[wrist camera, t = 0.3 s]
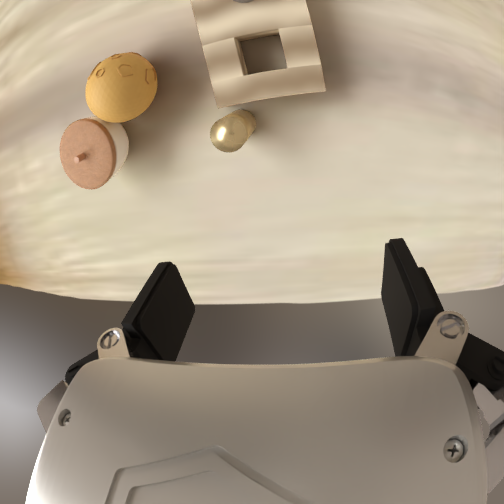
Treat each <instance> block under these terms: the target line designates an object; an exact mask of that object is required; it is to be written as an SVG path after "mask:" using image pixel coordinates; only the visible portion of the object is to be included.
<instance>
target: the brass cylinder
mask: <svg viewBox="0 0 504 504" xmlns="http://www.w3.org/2000/svg"><path fill="white" fill-rule="evenodd" d="M255 127H256V121H255V118H254V116H253V115H252V114H251V113H250V112H248V111H246V110H236V111H234V112H232V113H230V114H228V115H227V116H225V117H223V118H221V119H220V120H218V121H217V122H215V123H214V125H213V126H212V128H211V131H210V138H211V141H212V143H213V145H214V146H215V147H216V148H217V149H219V150H221V151H223V152H234V151H237V150H238V149H240V148H241V147H242V146H243V144H244V143H245V142H246V141H247V139H248V138H249V137H250V135H251V134H252V133H253V131H254V130H255Z"/></svg>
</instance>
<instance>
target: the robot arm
mask: <svg viewBox="0 0 504 504" xmlns="http://www.w3.org/2000/svg"><path fill="white" fill-rule="evenodd" d="M381 296H382V301H383V305H384V309H385V313H386V317H387V321H388V325H389V329H390V333H391V338H392V342H393V347H394V352H395V357H385V358H374V359H364V360H353V361H341V362H328V363H311V364H288V365H230V364H229V365H228V364H205V363H187V362H175V361H176V358H177V356H178V353H179V351H180V348H181V346H182V343H183V340H184V338H185V335H186V333H187V330H188V328H189V325H190V322H191V320H192V317H193V315H194V313H195V306H194V304H193V302H192V299H191V297H190V295H189V293H188V291H187V289H186V287H185V284H184V282H183V280H182V278H181V276H180V273H179V271H178V269H177V267H176V265H174V264H173V263H172V262H161V263H159V264H158V265H157V266H156V268H155V269H154V271H153V273H152V274H151V276H150V277H149V279H148V280H147V282H146V283H145V285H144V287H143V288H142V290H141V291H140V293H139V295H138V296H137V298H136V300H135V301H134V303H133V304H132V306H131V308H130V310H129V311H128V313H127V314H126V316H125V318H124V319H123V321H122V323H121V324H122V326H123V329H122V330H121V329H120V328H111V329H109V330H107V331H105V332H104V333H103V334H102V335H101V336H100V338H99V339H98V343H97V348H98V350H96V351H94V352H93V353H91V354H89V355H88V356H86V357H84V358H83V359H81V360H79V361H78V362H76V363H74V364H73V365H71V366H70V367H69V369H68V370H67V372H66V376H65V380H66V381H63V380H62V381H61V382H60V383H59V384H57V385H56V386H55V387H54V388H53V389H52V390H51V391H50V392H49V393H48V394H47V395H46V396H45V397H44V398H43V399H42V400H41V401H40V403H39V405H38V408H37V412H38V415H39V417H40V420H41V422H42V425H43V427H44V429H45V431H46V436H45V438H44V441H43V444H42V447H41V449H40V452H39V455H38V458H37V461H36V465H35V468H34V471H33V475H32V478H31V482H30V486H29V490H28V494H27V499H26V504H487V495H488V494H489V493H490V491H492V490H493V488H494V487H495V486H496V485H497V484H498V483H499V482H500V480H502V478H503V477H504V352H503V351H501V350H500V349H498V348H496V347H494V346H492V345H490V344H489V343H487V342H485V341H483V340H481V339H479V338H477V337H475V336H473V335H472V334H470V333H468V331H469V326H468V322H467V321H466V319H465V318H464V317H463V316H462V315H461V314H459V313H457V312H454V311H444V309H443V307H442V305H441V302H440V300H439V298H438V296H437V293H436V291H435V289H434V287H433V285H432V283H431V281H430V279H429V277H428V275H427V273H426V271H425V269H424V268H423V267H419V268H418V266H417V264H416V262H415V260H414V258H413V256H412V254H411V252H410V250H409V249H408V247H407V245H406V243H405V241H404V239H403V238H398V239H390V240H389V243H386V244H385V255H384V269H383V281H382V291H381ZM478 409H481V410H482V411H483V412H484V415H483V417H484V418H485V419H486V420H487V422H488V424H489V427H490V432H489V436H488V438H487V439H486V441H485V442H484V434H483V429H482V424H481V419H480V414H479V410H478ZM454 447H455V449H454Z"/></svg>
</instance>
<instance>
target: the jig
mask: <svg viewBox="0 0 504 504" xmlns="http://www.w3.org/2000/svg"><path fill="white" fill-rule="evenodd" d="M190 1H191V5H192V9H193V13H194V17H195V20H196V24H197V28H198V32H199V36H200V40H201V44H202V48H203V52H204V56H205V60H206V64H207V68H208V72H209V76H210V80H211V83H212V87H213V91H214V95H215V99H216V103H217V107H218V109H219V108H223V107H227V106H232V105H237V104H241V103H246V102H252V101H257V100H263V99H269V98H275V97H282V96H289V95H296V94H305V93H314V92H325V91H326V88H325V82H324V77H323V71H322V66H321V61H320V57H319V52H318V47H317V43H316V39H315V34H314V30H313V26H312V22H311V18H310V15H309V11H308V7H307V4H306V0H190ZM277 34H280V38H281V42H282V46H283V51H284V55H285V59H286V64H287V68H285V69H278V70H272V71H266V72H260V73H255V74H250V75H248V72H247V68H246V64H245V60H244V55H243V51H242V47H241V43H240V41H245V40H249V39H254V38H260V37H265V36H271V35H277Z"/></svg>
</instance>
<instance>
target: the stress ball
mask: <svg viewBox="0 0 504 504" xmlns="http://www.w3.org/2000/svg"><path fill="white" fill-rule="evenodd" d="M87 79H88V81H87V85H86V101H87V104H88V106H89V108H90V110H91V111H92V112H93V114H94V115H96V116H97V117H98V118H100V119H102V120H104V121H107V122H112V123H120V122H125V121H129V120H132V119H134V118H136V117H137V116H139V115H140V114H142V113H143V112H144V111H145V110H146V109H147V108H148V107H149V105H150V104H151V103H152V101H153V99H154V97H155V94H156V91H157V85H158V84H157V75H156V71H155V69H154V68H153V66H152V65H151V63H150V62H149V61H148V60H146V59H145V58H143V57H142V56H141V55H140V54H138V53H133V52H129V53H121V54H115V55H113V56H111V57H109V58H107V59H105V60H104V61H102V62H99V63H98V64H97V66H96V67H95V68H94V70H93V71H92V73H91V75H90V76H89V77H88V78H87Z"/></svg>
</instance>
